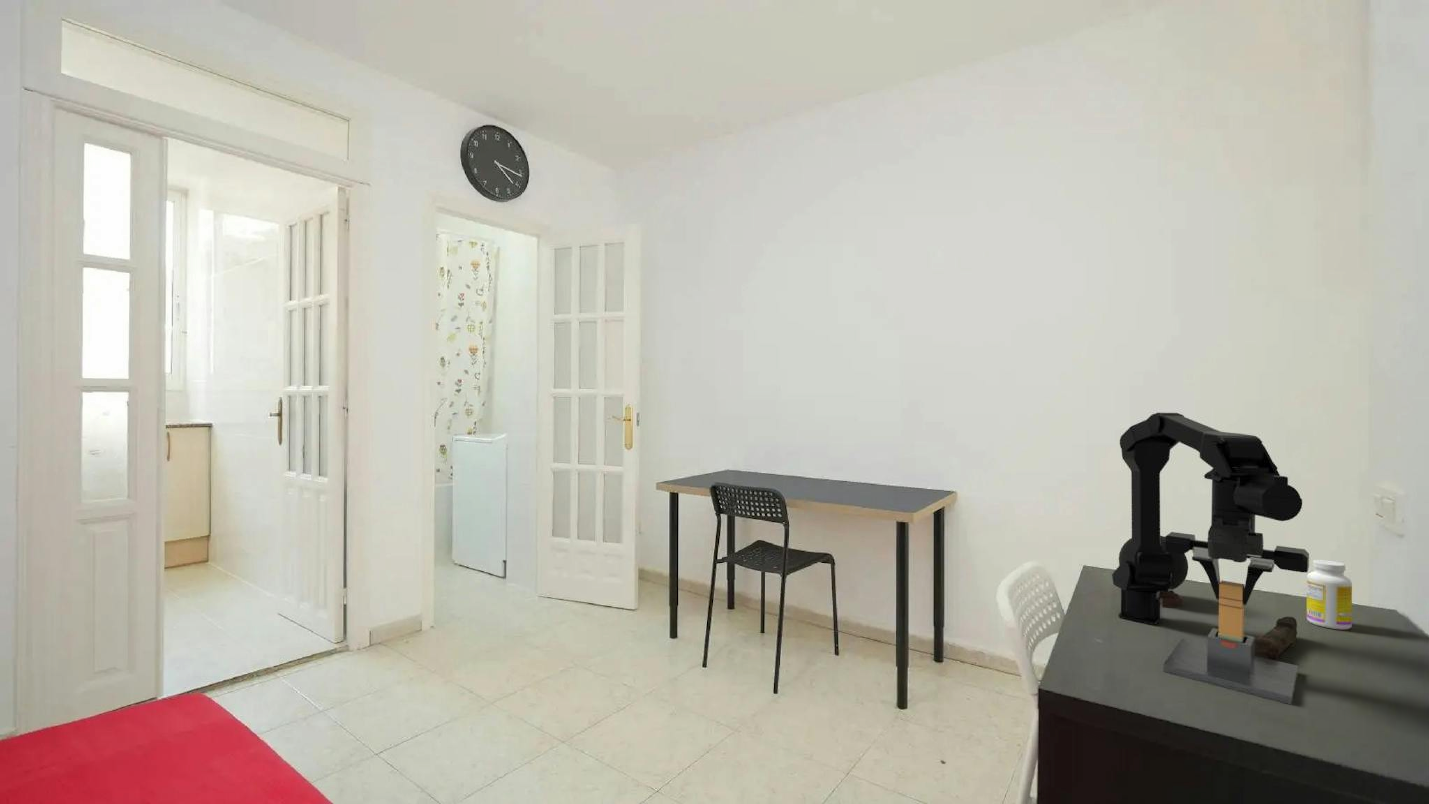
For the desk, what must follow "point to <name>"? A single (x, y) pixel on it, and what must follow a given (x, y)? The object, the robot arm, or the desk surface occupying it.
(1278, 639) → the rusty railroad spike
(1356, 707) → the desk surface
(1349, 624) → the supplement bottle
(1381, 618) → the desk surface
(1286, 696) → the jack stand base
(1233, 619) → the column
